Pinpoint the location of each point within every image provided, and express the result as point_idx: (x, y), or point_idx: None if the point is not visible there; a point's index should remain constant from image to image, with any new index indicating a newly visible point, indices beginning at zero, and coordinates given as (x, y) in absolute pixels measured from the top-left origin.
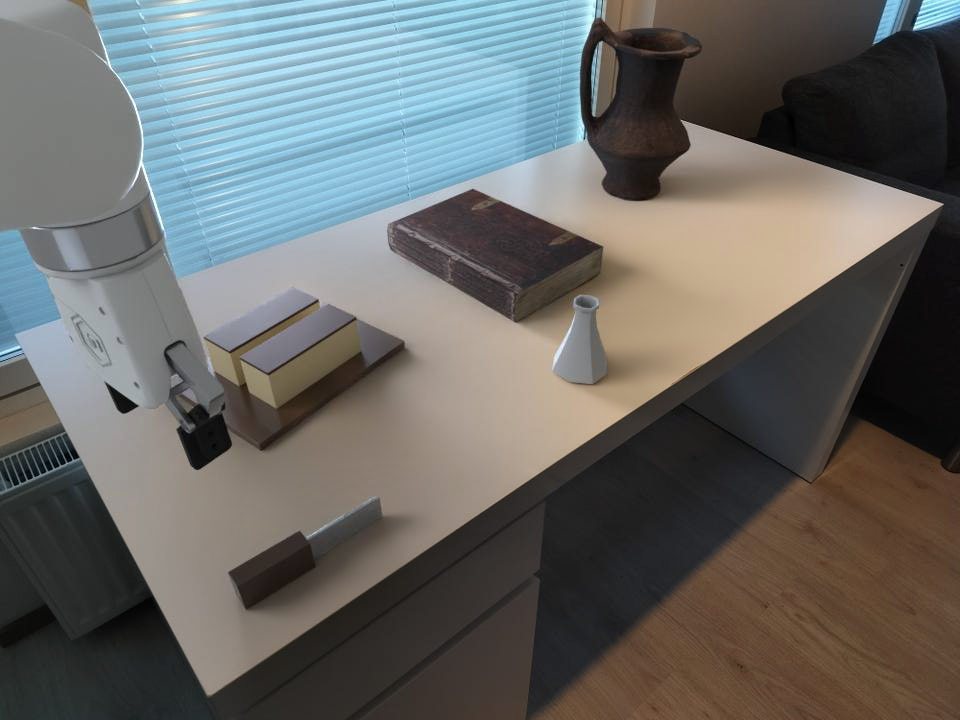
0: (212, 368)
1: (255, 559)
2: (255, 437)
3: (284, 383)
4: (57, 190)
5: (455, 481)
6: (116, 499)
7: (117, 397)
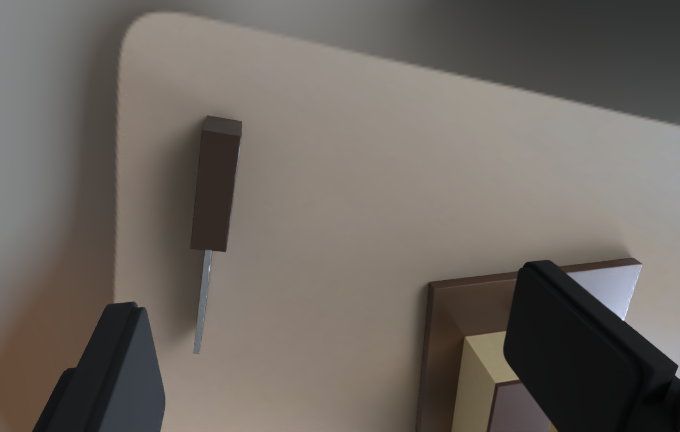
0: None
1: (228, 178)
2: (448, 292)
3: (477, 378)
4: None
5: (175, 411)
6: (536, 100)
7: (563, 307)
